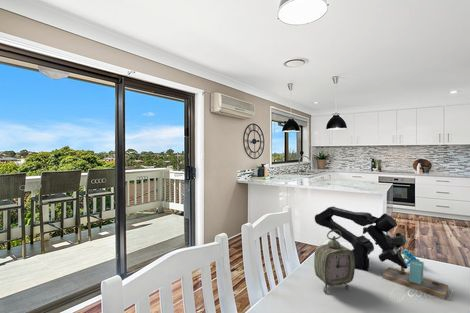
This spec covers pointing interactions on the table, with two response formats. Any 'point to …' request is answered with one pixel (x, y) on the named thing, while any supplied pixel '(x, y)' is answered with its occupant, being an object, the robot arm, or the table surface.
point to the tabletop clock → (334, 263)
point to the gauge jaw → (416, 271)
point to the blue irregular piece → (408, 257)
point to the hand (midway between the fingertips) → (406, 268)
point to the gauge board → (426, 285)
